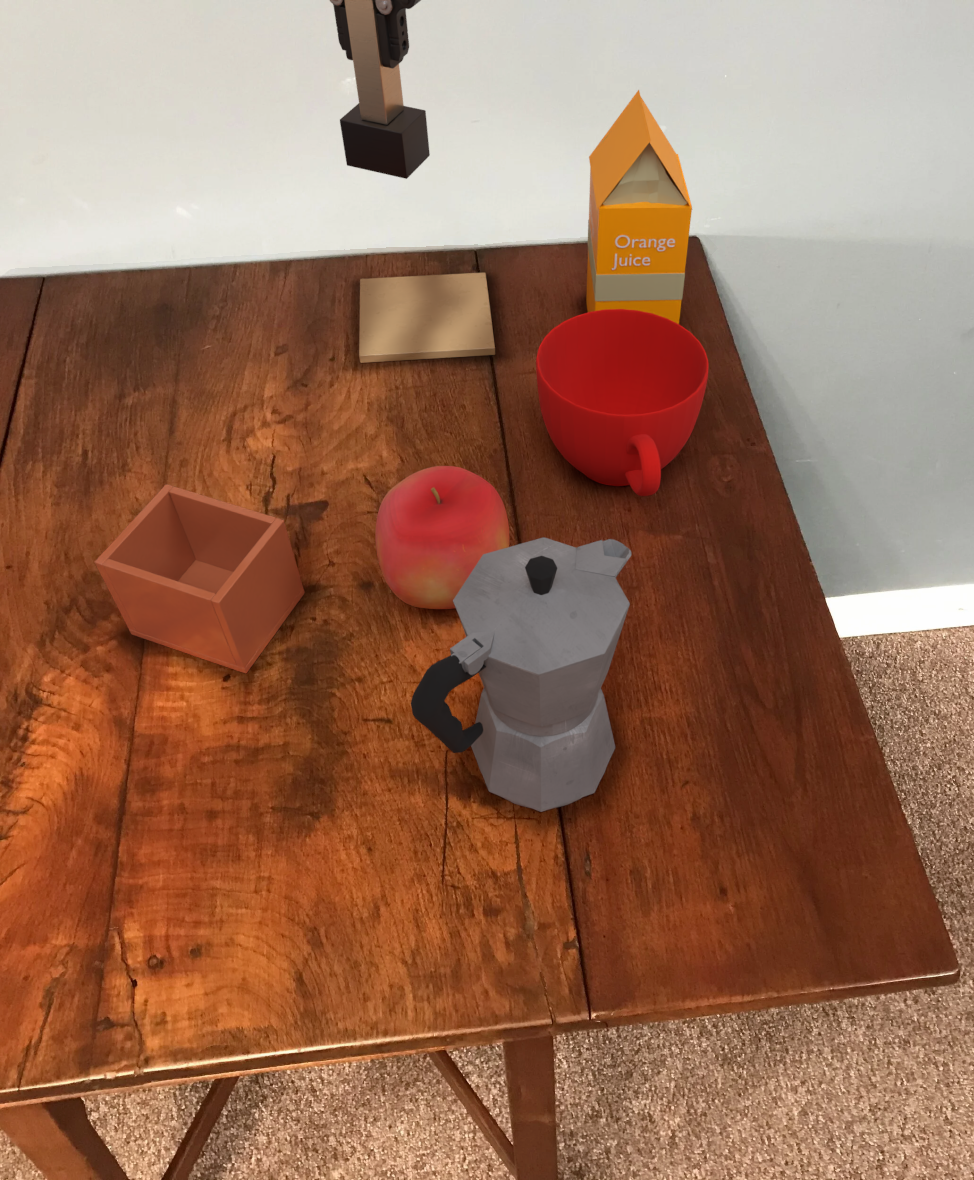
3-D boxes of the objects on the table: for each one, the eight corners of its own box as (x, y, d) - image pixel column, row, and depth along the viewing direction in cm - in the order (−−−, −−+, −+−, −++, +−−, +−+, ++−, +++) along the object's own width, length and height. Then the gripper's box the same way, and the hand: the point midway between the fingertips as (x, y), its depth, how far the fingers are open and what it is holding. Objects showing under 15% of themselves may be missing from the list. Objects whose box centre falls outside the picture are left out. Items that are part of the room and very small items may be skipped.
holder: (130, 634, 71) (93, 561, 65) (195, 557, 76) (166, 483, 70) (246, 674, 69) (218, 602, 63) (305, 592, 74) (284, 519, 68)
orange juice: (665, 299, 99) (685, 88, 83) (676, 356, 93) (701, 140, 78) (584, 301, 98) (590, 88, 83) (591, 358, 92) (598, 141, 77)
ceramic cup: (560, 562, 77) (562, 463, 69) (525, 415, 87) (523, 315, 79) (727, 540, 78) (746, 442, 71) (673, 399, 89) (684, 301, 81)
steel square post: (346, 165, 80) (318, -12, 70) (371, 142, 82) (347, -32, 72) (406, 179, 78) (386, 1, 69) (430, 155, 81) (413, -20, 71)
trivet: (360, 363, 91) (359, 355, 90) (361, 285, 99) (360, 278, 98) (495, 355, 92) (495, 347, 92) (485, 279, 100) (485, 272, 99)
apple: (535, 563, 76) (534, 464, 69) (479, 658, 71) (470, 562, 63) (420, 526, 78) (406, 426, 71) (357, 615, 73) (334, 516, 65)
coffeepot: (565, 649, 71) (569, 458, 57) (665, 733, 67) (695, 548, 53) (388, 787, 64) (344, 605, 50) (489, 889, 60) (470, 722, 46)
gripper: (470, -241, 62) (484, 57, 75) (270, -267, 65) (318, 24, 78) (414, -212, 57) (439, 100, 71) (201, -242, 60) (264, 63, 74)
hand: (375, 59), depth 74 cm, fingers closed on steel square post, 2 cm apart
